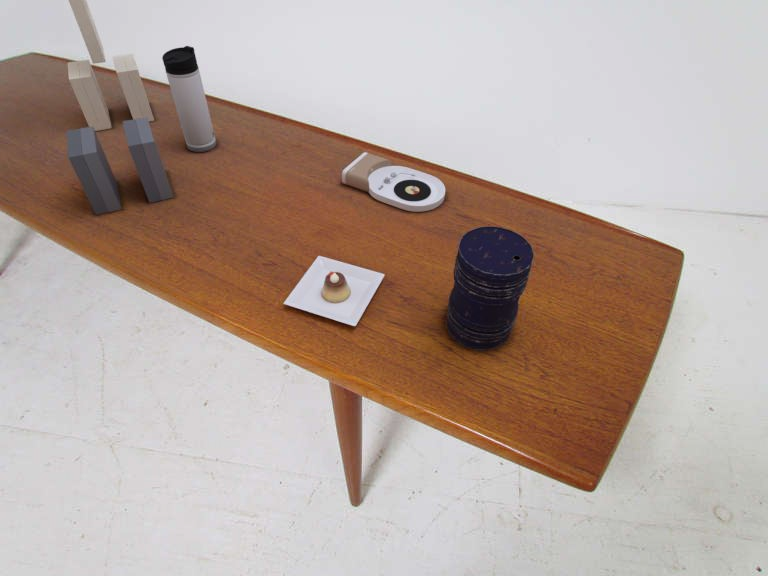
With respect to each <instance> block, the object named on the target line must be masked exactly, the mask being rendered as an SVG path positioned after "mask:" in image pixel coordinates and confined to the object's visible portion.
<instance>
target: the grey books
mask: <svg viewBox="0 0 768 576" xmlns="http://www.w3.org/2000/svg"><path fill="white" fill-rule="evenodd" d="M122 126H123V131H124V135H125V139H126V144H127V147H128V151H129V153H130V156H131V157H132V161H133V163H134V166H135V168H136V171H137V174H138V176H139V179H140V182H141V184H142V187H143V189H144V192H145V195H146V199H147V200H148V203H149V204H151V203H156V202H161V201H165V200H169V199H173V198H174V196H173V191H172V188H171V184H170V182H169V179H168V175H167V172H166V169H165V166H164V163H163V160H162V157H161V154H160V151H159V148H158V145H157V142H156V140H155V136H154V132H153V130H152V128H151V124H150V122H149V121H148V118H147V117H145V118H139V119H133V118H132V119H128V120H127V119H126V120H122ZM66 140H67V141H66V144H67V157H68V160H69V162H70V164H71V167H72V168H73V170H74V173H75V175H76V176H77V179H78V181H79V183H80V185H81V187H82V189H83V191H84V194H85V195H86V197H87V200H88V202H89V204H90V206H91V207H92V210H93V212H94V214H95V216H98V215H103V214H107V213H112V212H117V211H120V210H122V206H121V205H122V204H121V200H120V199H121V198H120V193H119V188H118V182H117V179H116V177H115V175H114V173H113V171H112V168H111V165H110V163H109V161H108V158H107V156H106V153H105V151H104V148H103V146H102V144H101V142H100V139H99V137H98V134H97V131H95V130H94V127H93V126H92V127H89V126H87V127H81V128H76V129H75V128H74V129H70V130H66Z"/></svg>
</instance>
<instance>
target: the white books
mask: <svg viewBox="0 0 768 576" xmlns="http://www.w3.org/2000/svg"><path fill="white" fill-rule="evenodd" d="M112 59H113V64H114V69H115V73H116V75H117V78H118V81H119V84H120V87H121V89H122V92H123V95H124V97H125V98H124V99H125V101H126V103H127V106H128V109H129V112H130V115H131V117H132V120H133V119H139V118H145V117H147V118H148V121H149V123H150V122H154V121H155V117H154V115H153V112H152V109H151V106H150V103H149V99H148V95H147V93H146V90H145V87H144V84H143V81H142V78H141V74H140V72H139V68H138V66H137V63H136V59H135V56H134V53H127V54H120V55H112ZM67 73H68V81H69V84H70V86H71V88H72V90H73V93H74V95H75V97H76V100H77V102H78V104H79V107H80V109H81V111H82V113H83V116H84V119H85V121H86V123H87V127H92V126H93V127H94V130H95V132H98V131H104V130H108V129H109V130H110V129H112V128H113V127H112V123H111V117H110V112H109V108H108V105H107V103H106V100H105V98H104V95H103V93H102V90H101V87H100V85H99V82H98V80H97V77H96V74H95V72H94V70H93V67H92V64H91V62H90V60H89V59H83V60H75V61H68V62H67Z"/></svg>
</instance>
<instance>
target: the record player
mask: <svg viewBox="0 0 768 576" xmlns="http://www.w3.org/2000/svg"><path fill="white" fill-rule="evenodd" d="M341 182H342V184H344V185H347V186H349V187H352V188H355V189H358V190H361V191H363V192H366V193H369V195H370V196H371V197H372V198H373V199H375V200H376V201H378V202H381V203H384V204H386V205H390V206H392V207H395V208H397V209H401V210H404V211H408V212H412V213H413V212H415V213H418V212H419V213H421V212H427V211H432V210H434V209H437V208H438V207H440V206H441V205H442V204H443V202H444V201H445V197H446V186H445V184H444V182H443V181H441V180H440V179H439V178H438V177H436V176H435V175H431V174H429V173H426V172H423V171H421V170H417V169H413V168H411V167H407V166H402V165H393V162H392V160H390V159H388V158H385V157H382V156H378V155H376V154H372V153H369V152H366V151H364V152H362V153H361V154H360V155H359V156H358V157H357V158H356V159H355V160H353V161H352V162H351V163H350V164H349V165H347V166H346V167H345V168H344V169H343V170H342V173H341Z"/></svg>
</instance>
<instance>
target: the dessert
mask: <svg viewBox="0 0 768 576" xmlns="http://www.w3.org/2000/svg"><path fill="white" fill-rule="evenodd" d="M385 276H386V274H385V273H382V272H379V271H374V270H371V269H368V268H364V267H361V266H358V265H353V264H350V263H347V262H344V261H339V260H336V259H333V258H329V257H325V256H322V255H318V256H317V257H316V258H315V260H314V261H313V263H312V264H311V265H310V267H309V268H308V269H307V270H306V272H305V273H304V275H303V276H302V277H301V279H300V280H299V281H298V282H297V284H296V286H295V287H294V288H293V290H291V291H290V294H289V295H288V296H287V298H286V299H285V300H284V302H283V305H286V306H289V307H291V308H295V309H299V310H301V311H305V312H308V313H310V314H314V315H318V316H320V317H324V318H327V319H330V320H334V321H336V322H339V323H343V324H346V325H349V326H352V327H356V326H357V324H358V323H359V321H360V319H361V318H362V316H363V315H364V312H365V311H366V309H367V307H368V305H369V304H370V302H371V300H372V298H373V297H374V295H375V293H376V291H377V290H378V288H379V286H380V284H381V283H382V281H383V279H384V278H385Z"/></svg>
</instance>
